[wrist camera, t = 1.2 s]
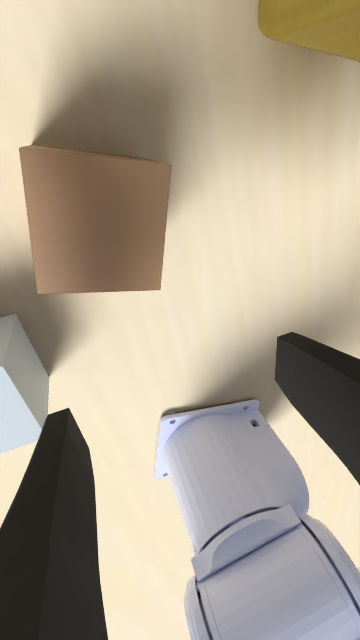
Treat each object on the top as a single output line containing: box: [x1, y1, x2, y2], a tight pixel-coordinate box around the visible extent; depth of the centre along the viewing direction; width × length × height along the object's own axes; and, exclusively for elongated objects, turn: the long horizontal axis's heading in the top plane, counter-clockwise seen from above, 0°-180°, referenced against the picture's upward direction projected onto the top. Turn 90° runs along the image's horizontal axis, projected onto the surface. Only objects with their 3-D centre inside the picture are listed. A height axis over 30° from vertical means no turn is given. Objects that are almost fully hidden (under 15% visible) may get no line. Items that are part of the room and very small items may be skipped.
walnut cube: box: [19, 145, 171, 294], centre depth 14 cm, size 5×5×5 cm
